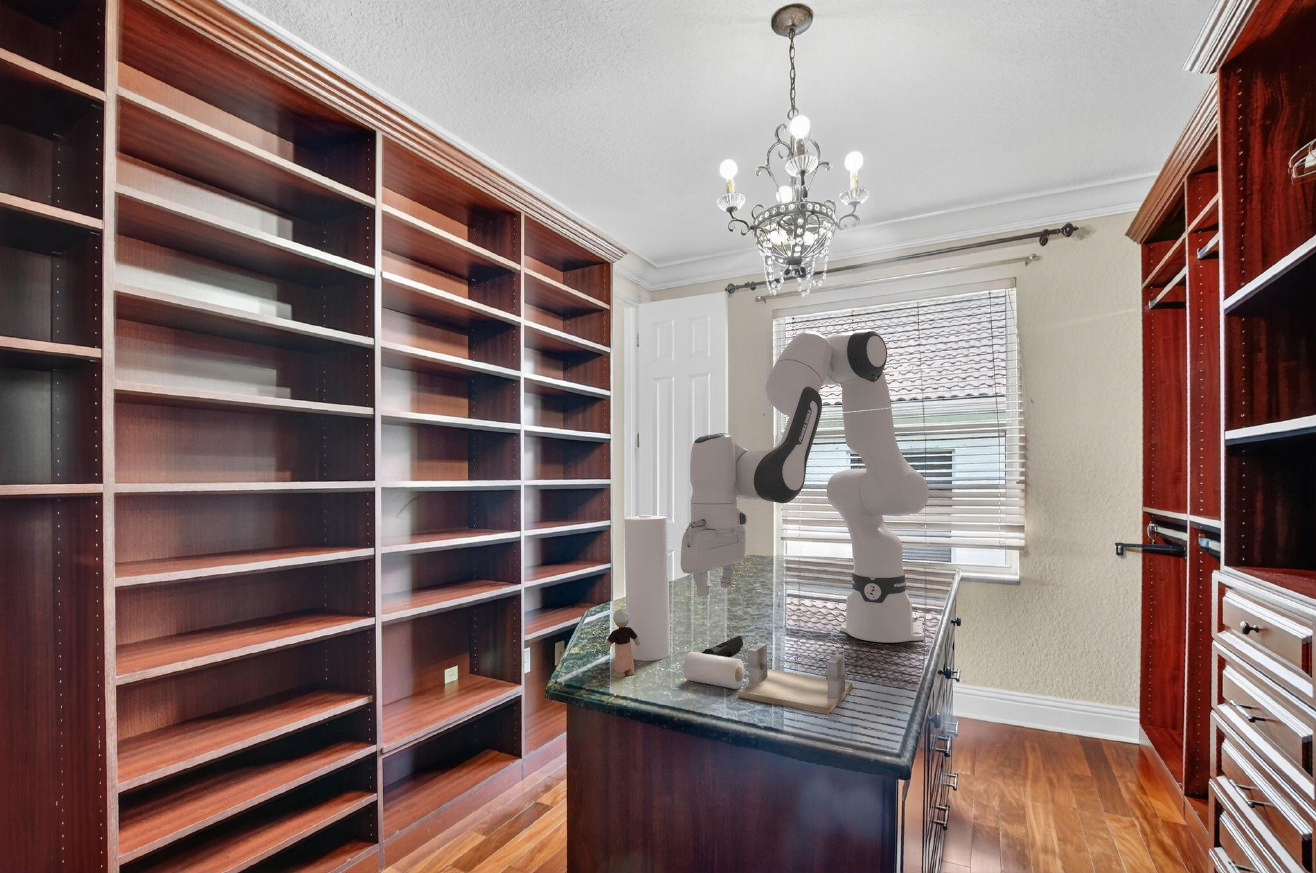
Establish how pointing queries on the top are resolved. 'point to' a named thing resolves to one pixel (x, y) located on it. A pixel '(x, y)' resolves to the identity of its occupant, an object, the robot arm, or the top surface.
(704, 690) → the top surface
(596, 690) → the top surface
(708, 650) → the electric trimmer
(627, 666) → the grandmother figurine
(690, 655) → the paper roll
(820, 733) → the top surface
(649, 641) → the cylinder container
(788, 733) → the top surface
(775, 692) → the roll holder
